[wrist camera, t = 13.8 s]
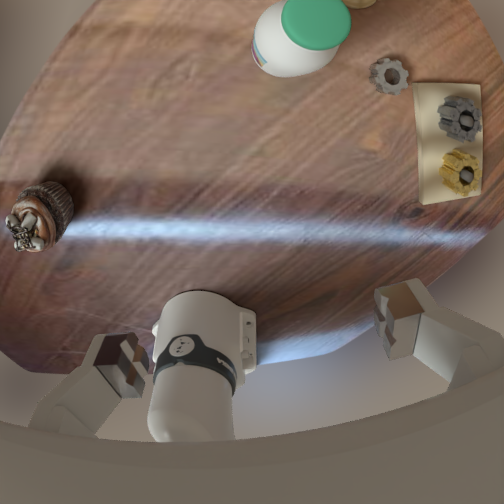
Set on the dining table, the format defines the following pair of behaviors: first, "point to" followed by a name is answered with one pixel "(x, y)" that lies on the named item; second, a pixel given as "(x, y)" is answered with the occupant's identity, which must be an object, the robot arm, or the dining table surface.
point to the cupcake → (40, 216)
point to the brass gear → (453, 168)
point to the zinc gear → (379, 78)
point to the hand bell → (358, 3)
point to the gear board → (442, 138)
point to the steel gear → (451, 117)
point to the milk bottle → (299, 36)
